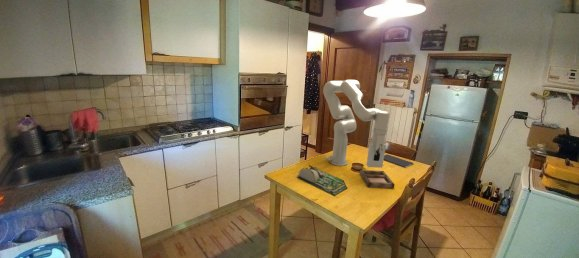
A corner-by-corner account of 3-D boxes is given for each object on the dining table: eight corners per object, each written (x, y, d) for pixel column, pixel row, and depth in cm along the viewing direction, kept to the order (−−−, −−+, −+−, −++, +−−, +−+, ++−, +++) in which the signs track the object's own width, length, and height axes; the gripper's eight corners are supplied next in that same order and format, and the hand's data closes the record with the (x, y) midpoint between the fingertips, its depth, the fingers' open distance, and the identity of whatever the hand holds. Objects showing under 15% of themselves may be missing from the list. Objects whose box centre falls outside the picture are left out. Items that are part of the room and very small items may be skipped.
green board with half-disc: (292, 164, 149) (312, 157, 163) (291, 175, 151) (311, 167, 165) (335, 184, 127) (355, 173, 141) (334, 197, 129) (353, 185, 143)
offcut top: (371, 185, 141) (371, 183, 141) (367, 179, 148) (367, 177, 147) (387, 186, 141) (388, 183, 141) (383, 180, 148) (383, 178, 148)
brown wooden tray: (367, 188, 139) (368, 182, 138) (359, 174, 156) (360, 169, 155) (393, 189, 139) (394, 184, 138) (382, 175, 156) (383, 170, 155)
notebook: (378, 159, 186) (405, 168, 170) (378, 157, 186) (405, 166, 170) (386, 156, 194) (413, 164, 178) (387, 154, 194) (413, 162, 178)
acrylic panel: (367, 166, 149) (371, 144, 145) (366, 164, 152) (369, 142, 148) (382, 167, 149) (385, 145, 145) (380, 165, 152) (384, 143, 148)
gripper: (369, 127, 152) (365, 154, 157) (378, 134, 137) (373, 164, 142) (381, 128, 152) (377, 154, 157) (391, 135, 137) (386, 165, 141)
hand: (375, 159), depth 149 cm, fingers closed on acrylic panel, 3 cm apart
